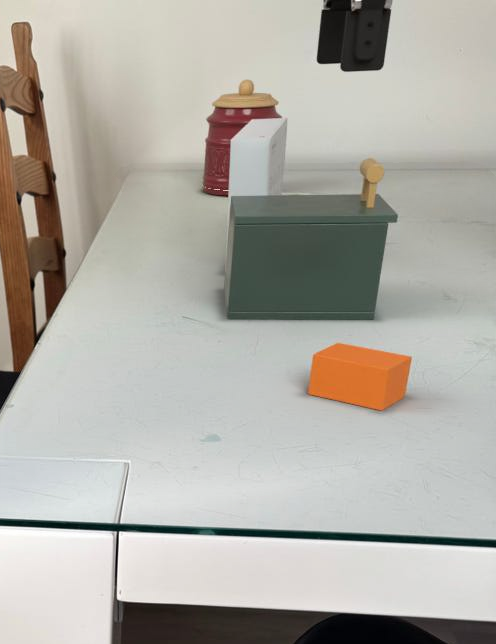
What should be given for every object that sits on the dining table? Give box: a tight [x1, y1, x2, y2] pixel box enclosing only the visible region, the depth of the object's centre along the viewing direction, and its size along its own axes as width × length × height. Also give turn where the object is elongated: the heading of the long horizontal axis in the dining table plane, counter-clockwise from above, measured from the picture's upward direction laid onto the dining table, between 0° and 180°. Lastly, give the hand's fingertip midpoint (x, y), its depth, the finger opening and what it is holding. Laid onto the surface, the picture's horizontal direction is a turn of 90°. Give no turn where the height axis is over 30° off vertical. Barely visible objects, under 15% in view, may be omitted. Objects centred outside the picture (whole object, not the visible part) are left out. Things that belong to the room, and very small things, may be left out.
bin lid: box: [231, 157, 399, 224], centre depth 108 cm, size 16×13×5 cm
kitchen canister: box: [201, 79, 283, 197], centre depth 176 cm, size 13×13×18 cm
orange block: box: [307, 342, 413, 412], centre depth 87 cm, size 7×4×4 cm, turn 47°
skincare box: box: [224, 117, 288, 271], centre depth 131 cm, size 21×5×16 cm, turn 162°
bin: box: [223, 205, 389, 321], centre depth 112 cm, size 16×13×10 cm
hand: (347, 66), depth 82 cm, fingers open, 9 cm apart
